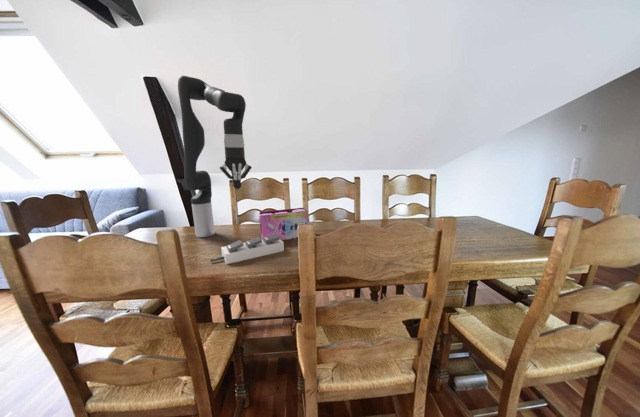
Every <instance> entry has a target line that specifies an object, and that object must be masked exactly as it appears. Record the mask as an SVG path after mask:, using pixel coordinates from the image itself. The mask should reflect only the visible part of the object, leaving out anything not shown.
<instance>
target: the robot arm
mask: <svg viewBox="0 0 640 417" xmlns="http://www.w3.org/2000/svg"><path fill="white" fill-rule="evenodd" d="M177 91H178V99H179V104H180V113H181V122H182V123H181V125H182V126H181V127H182V129H181V130H182V141H183V152H184V153H183V154H184V166H183V174H184V176H183V178H184V184H185V187H186V189H187V190H189V191H198V192H197V193H196V194H195V195H193V196H192V197H191V199H190V202H191V210H192V217H193V224H194V233H195V236H196V237H197V238H207V237H211V236H214V235H215V234H216V231H215V222H214V214H213V206H212V196H213V194H212V193H213V192H212V180H211V176H210V174H209V172H207V170H206V171H205V170H197V164H198V159H199V158H200V156H201V153H202V151H203V150H204V147H205V144H206V143H205V142H206V141H205V129H204V127H203V125H202V124H201V122H200V121H199V119H198V117H197V116H196V114H195V113H194V111H193V108H192V103H191V100H194V101H206V102H207V103H208V104H210V105H211V106H214V107H215V108H217V109H218V110H219V111H222V112H224V113H225V112H226V113H233V114H232V117H231V118H225V119H224V120H223V134H224V137H223V139H224V140H223V143H224V144H223V145H224V156H225V157H224V158H225V161H224V163H223V165H221V166H219V170H220V171H221V172H222V173H223V174H224V175H225V176H226V177H227V179H229V180H232V186H233V188H235V190H240V189H241V187H242V182H241V180H242V179H245V178H246V177H247V175H248V174H249V172H250V171H251V169H252V166H251V165H249V164H248V163H247V160H246V157H245V156H246V155H245V141H244V134H243V121H244V117H245V112H246V105H247V104H246V100H245V98H244V96H243V95H242V94H238V93H234V92H228V91H225V90H224V89H221V88H219V87H215V86H211V85H210V84H208V83H206V81H203V80H202V79H200V78H196V77H193V76H187V75H180V76H179V77H178V79H177ZM227 169H228V170H229V171H230V173H231V174H230V173H229V171H227ZM242 171H243V172H242Z"/></svg>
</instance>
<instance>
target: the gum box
mask: <svg viewBox="0 0 640 417" xmlns="http://www.w3.org/2000/svg"><path fill="white" fill-rule="evenodd" d="M308 211H309V210H307V209H306V208H305V207H297V208H288V209H286V208H285V209H275V210H274V209H273V210H265V211H260V212H259V213H258V221H259V225H260V232H261V239H262V238H263V237H267V236H271V235H274V234H276V235H277V236H278V237H279V239H280V240H281V241H285V240H292V238H294V239H297V238H296V237H297V227H298V225H299V224H300V223H305V224H308V225H309V212H308Z"/></svg>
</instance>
